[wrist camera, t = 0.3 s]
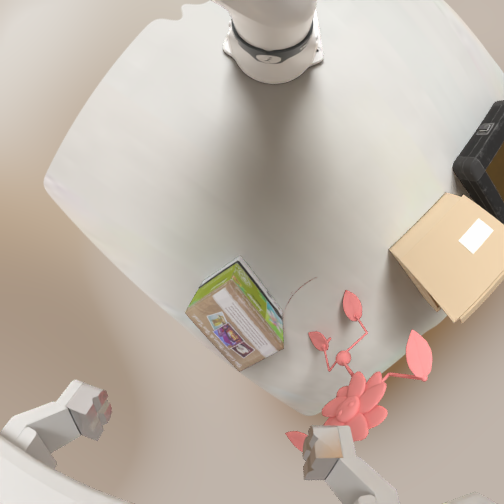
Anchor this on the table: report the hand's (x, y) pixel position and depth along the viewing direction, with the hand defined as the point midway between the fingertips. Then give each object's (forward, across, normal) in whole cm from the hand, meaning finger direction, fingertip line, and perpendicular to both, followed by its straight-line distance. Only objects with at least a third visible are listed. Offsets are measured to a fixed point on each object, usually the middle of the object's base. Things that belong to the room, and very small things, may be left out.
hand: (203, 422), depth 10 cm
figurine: (+48, -16, +19) cm, 54 cm away
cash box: (+48, -53, -20) cm, 74 cm away
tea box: (+48, +2, +18) cm, 51 cm away
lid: (+34, -37, +1) cm, 50 cm away
